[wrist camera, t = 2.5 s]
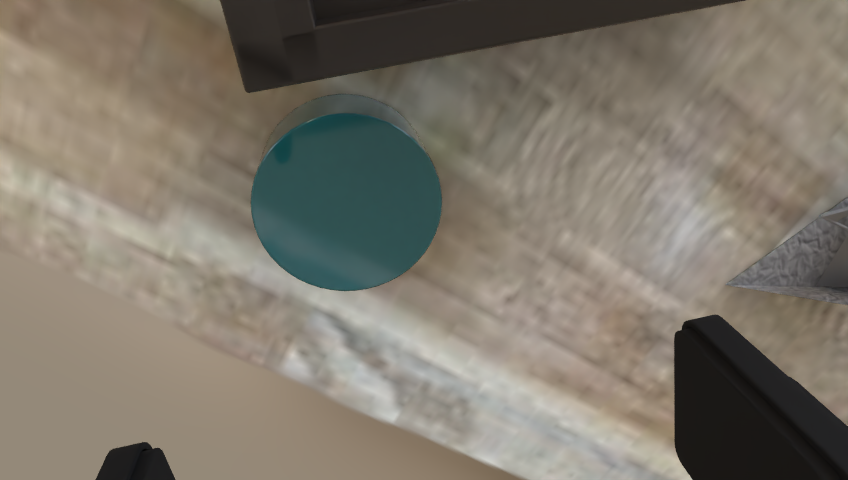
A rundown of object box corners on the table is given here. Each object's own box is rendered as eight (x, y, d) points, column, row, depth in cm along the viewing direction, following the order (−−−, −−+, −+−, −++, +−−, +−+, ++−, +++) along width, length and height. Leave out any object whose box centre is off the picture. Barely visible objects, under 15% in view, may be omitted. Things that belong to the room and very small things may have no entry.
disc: (239, 111, 24) (226, 134, 21) (414, 78, 24) (426, 96, 21) (284, 267, 27) (278, 308, 24) (440, 236, 27) (454, 271, 24)
